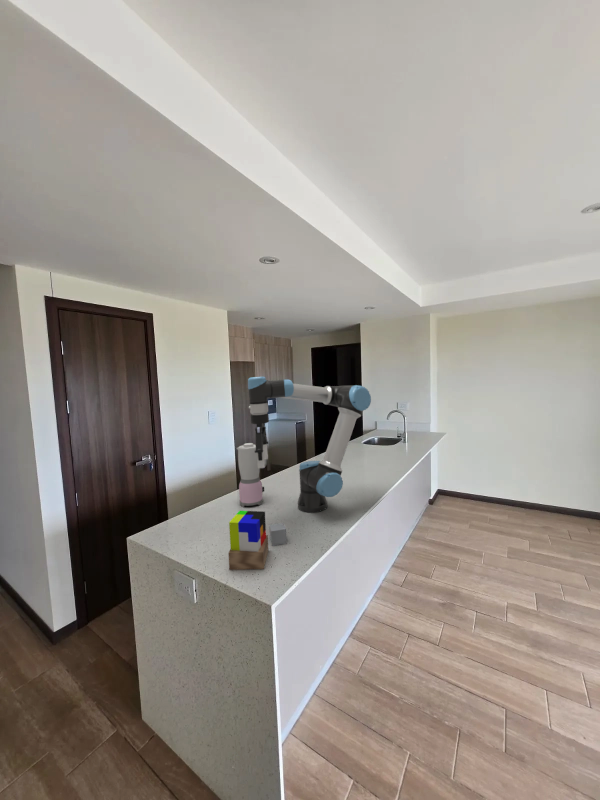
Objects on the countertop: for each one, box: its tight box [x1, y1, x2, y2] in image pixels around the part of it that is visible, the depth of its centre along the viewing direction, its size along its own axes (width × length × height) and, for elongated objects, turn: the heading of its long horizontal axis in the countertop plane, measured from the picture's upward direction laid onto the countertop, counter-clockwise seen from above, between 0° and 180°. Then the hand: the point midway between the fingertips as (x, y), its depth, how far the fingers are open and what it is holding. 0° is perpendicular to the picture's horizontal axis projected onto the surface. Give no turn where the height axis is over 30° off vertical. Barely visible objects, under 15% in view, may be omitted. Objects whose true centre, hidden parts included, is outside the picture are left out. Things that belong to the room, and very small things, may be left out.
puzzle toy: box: [228, 510, 267, 552], centre depth 116 cm, size 10×10×10 cm
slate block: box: [268, 522, 288, 547], centre depth 129 cm, size 6×6×6 cm
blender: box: [236, 442, 268, 508], centre depth 169 cm, size 16×12×32 cm
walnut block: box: [228, 534, 269, 571], centre depth 116 cm, size 12×12×6 cm
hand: (263, 463), depth 135 cm, fingers open, 13 cm apart
